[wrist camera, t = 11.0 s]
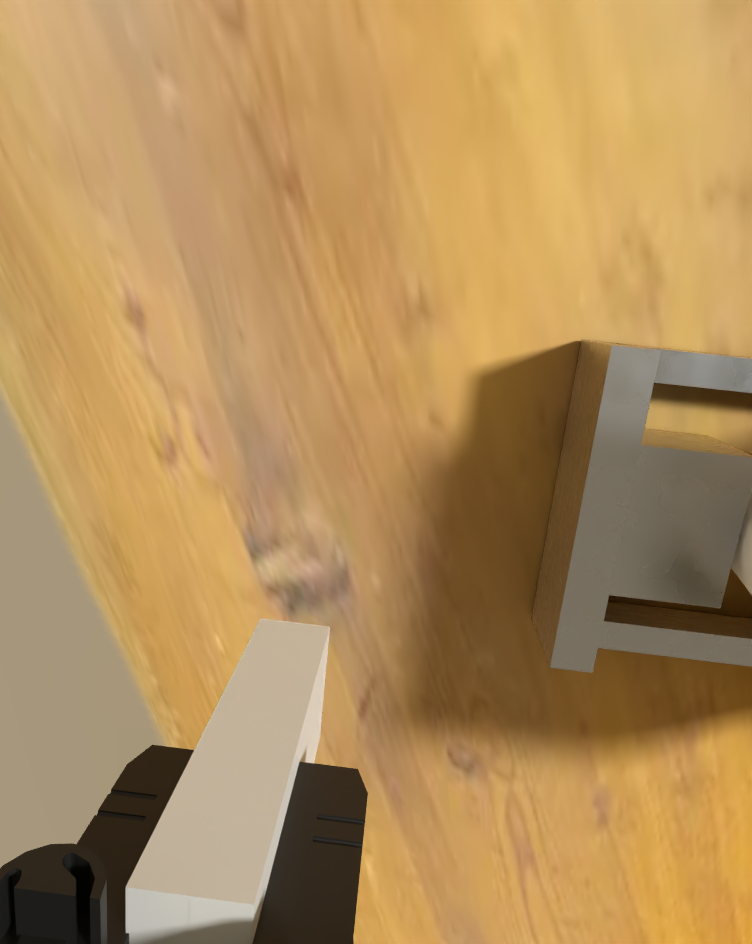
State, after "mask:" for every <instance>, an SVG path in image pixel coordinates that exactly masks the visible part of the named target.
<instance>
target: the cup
mask: <svg viewBox="0 0 752 944" xmlns="http://www.w3.org/2000/svg"><path fill="white" fill-rule="evenodd" d="M731 568H732V570H733V571H734V572H735V574H736V575H737V576H738V578H739V579H740V580H741V582H742V583H743V584H744V586H745V587H746V588H747V590H748V591H749V592H750V594H751V595H752V489H751V493H750V497H749V501H748V505H747V509H746V512H745V516H744V520H743V524H742V528H741V532H740V535H739V539H738V543H737V547H736V551H735V555H734V558H733V562H732V566H731Z"/></svg>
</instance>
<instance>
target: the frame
mask: <svg viewBox="0 0 752 944" xmlns="http://www.w3.org/2000/svg"><path fill="white" fill-rule="evenodd" d="M654 383H663V384H672V385H681V386H691V387H700V388H709V389H718V390H728V391H737V392H746V393H752V358H750V357H741V356H732V355H722V354H713V353H703V352H694V351H684V350H675V349H665V348H656V347H646V346H637V345H627V344H618V343H609V342H599V341H590V340H581V345H580V351H579V356H578V362H577V368H576V373H575V379H574V384H573V390H572V395H571V401H570V407H569V412H568V418H567V423H566V429H565V434H564V440H563V446H562V451H561V457H560V462H559V468H558V473H557V479H556V484H555V490H554V496H553V501H552V507H551V512H550V518H549V523H548V529H547V535H546V540H545V546H544V551H543V557H542V562H541V568H540V574H539V579H538V585H537V590H536V596H535V601H534V607H533V613H532V621H533V623H534V626H535V629H536V631H537V634H538V637H539V639H540V642H541V645H542V647H543V650H544V653H545V655H546V658H547V661H548V663H549V666H550V668H557V669H565V670H573V671H581V672H589V673H593V669H594V665H595V660H596V655H597V650H598V648H602V649H610V650H619V651H627V652H635V653H643V654H651V655H660V656H668V657H676V658H684V659H693V660H701V661H709V662H717V663H725V664H734V665H742V666H750V667H752V619H751V618H743V617H734V616H726V615H717V614H709V613H701V612H692V611H684V610H676V609H667V608H659V607H650V606H642V605H634V604H625V603H617V602H608V598H609V595H612V596H621V597H629V598H637V599H646V600H654V601H663V602H671V603H679V604H688V605H696V606H705V607H713V608H721V604H722V601H723V597H724V593H725V589H726V585H727V581H728V578H729V574H730V570H731V566H732V562H733V558H734V555H735V551H736V547H737V543H738V539H739V535H740V532H741V528H742V524H743V520H744V516H745V512H746V509H747V505H748V501H749V497H750V493H751V489H752V455H751V454H748V453H746V452H744V451H741V450H739V449H737V448H735V447H732V446H730V445H728V444H725V443H723V442H721V441H719V440H716V439H714V438H712V437H709V436H706V435H696V434H687V433H678V432H669V431H660V430H651V429H644V428H645V423H646V419H647V414H648V409H649V404H650V400H651V395H652V390H653V385H654Z"/></svg>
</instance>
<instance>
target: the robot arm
mask: <svg viewBox="0 0 752 944" xmlns="http://www.w3.org/2000/svg"><path fill="white" fill-rule="evenodd" d="M329 630H330V627H329V626H321V625H313V624H304V623H296V622H288V621H280V620H271V619H263V618H260V620H259V622H258V624H257V626H256V628H255V630H254V632H253V634H252V636H251V638H250V640H249V642H248V644H247V646H246V648H245V650H244V652H243V654H242V656H241V658H240V660H239V662H238V664H237V666H236V668H235V670H234V672H233V674H232V676H231V678H230V680H229V682H228V684H227V686H226V688H225V690H224V692H223V694H222V696H221V698H220V700H219V702H218V704H217V706H216V708H215V710H214V712H213V714H212V716H211V718H210V720H209V722H208V724H207V726H206V728H205V730H204V732H203V734H202V736H201V738H200V740H199V742H198V744H197V746H196V748H195V750H189V749H181V748H173V747H165V746H157V745H152V746H150V747H149V748H148V749H146V750H145V751H144V752H143V753H142V754H140V755H139V756H137V757H136V758H135V759H134V760H132V761H131V762H130V763H128V764H127V765H126V767H125V769H124V770H123V772H122V774H121V775H120V777H119V778H118V780H117V781H116V783H115V785H114V786H113V788H112V789H111V793H110V794H108V796H107V797H106V799H105V800H104V802H103V803H102V805H101V807H100V808H99V810H98V814H97V816H96V815H95V816H94V818H93V819H92V821H91V822H90V824H89V825H88V827H87V829H86V830H85V832H84V833H83V835H82V837H81V838H80V840H79V841H78V843H77V844H50V845H46V846H43V847H40V848H37V849H34V850H30V851H27V852H25V853H23V854H22V855H20V856H18V857H17V858H15V859H13V860H11V861H10V862H8V863H6V864H5V865H3V866H2V867H1V868H0V944H353V934H354V924H355V914H356V904H357V894H358V884H359V874H360V864H361V855H362V844H363V835H364V825H365V815H366V805H367V795H368V793H367V790H366V788H365V786H364V783H363V781H362V778H361V776H360V773H359V771H358V769H353V768H345V767H338V766H330V765H322V764H314V761H315V756H316V752H317V748H318V743H319V739H320V732H321V720H322V709H323V698H324V687H325V675H326V664H327V653H328V641H329Z"/></svg>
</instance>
